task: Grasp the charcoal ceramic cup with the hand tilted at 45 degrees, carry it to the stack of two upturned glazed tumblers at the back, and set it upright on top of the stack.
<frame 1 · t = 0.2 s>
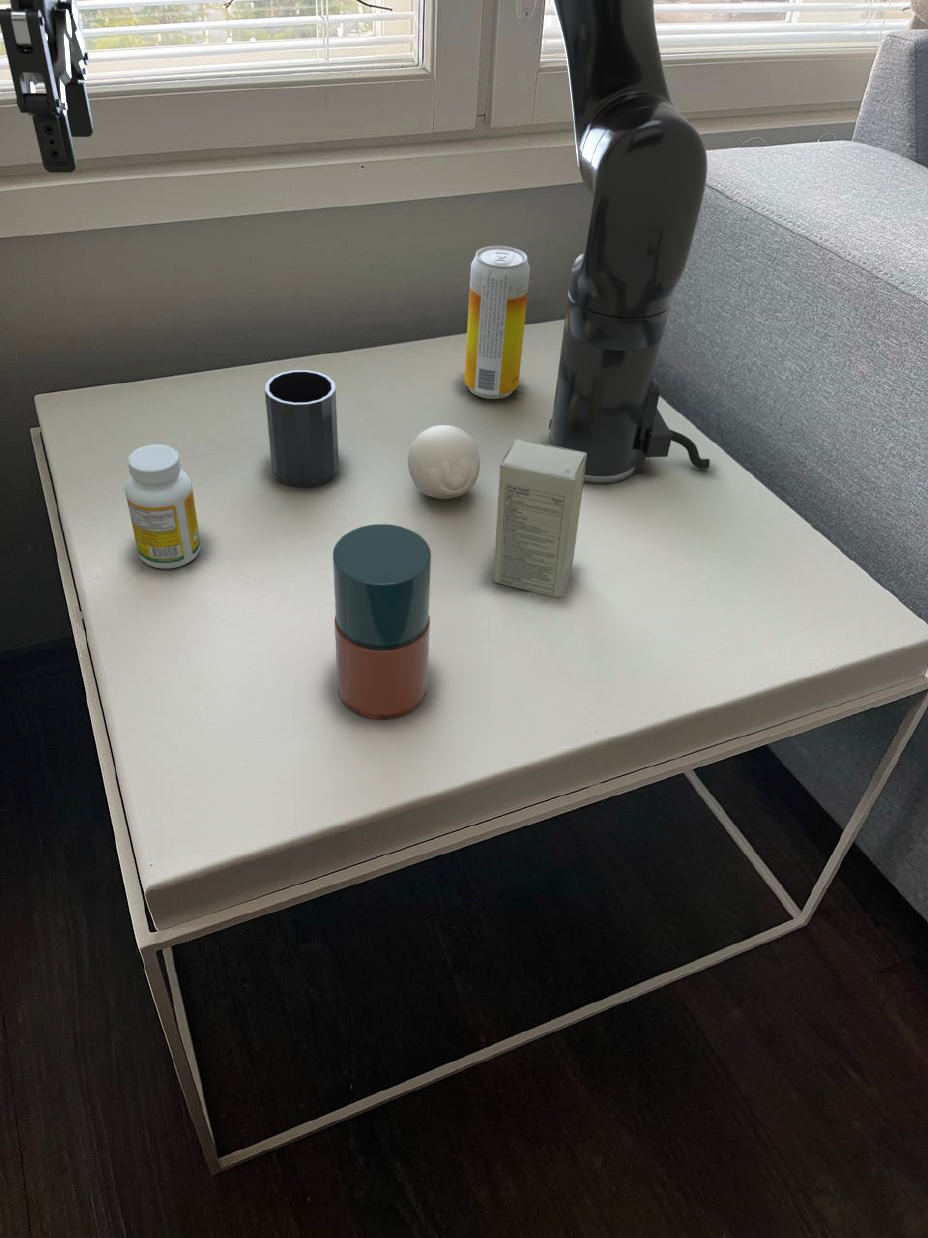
hand: (71, 152, 73), 29 cm above the table, tool pointing down, fingers open, 8 cm apart
cup: (305, 469, 95), on the table
supplement bottle: (170, 552, 85), on the table
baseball: (443, 494, 94), on the table
beer can: (490, 389, 109), on the table
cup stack: (382, 686, 74), on the table
cosmetic box: (530, 577, 85), on the table
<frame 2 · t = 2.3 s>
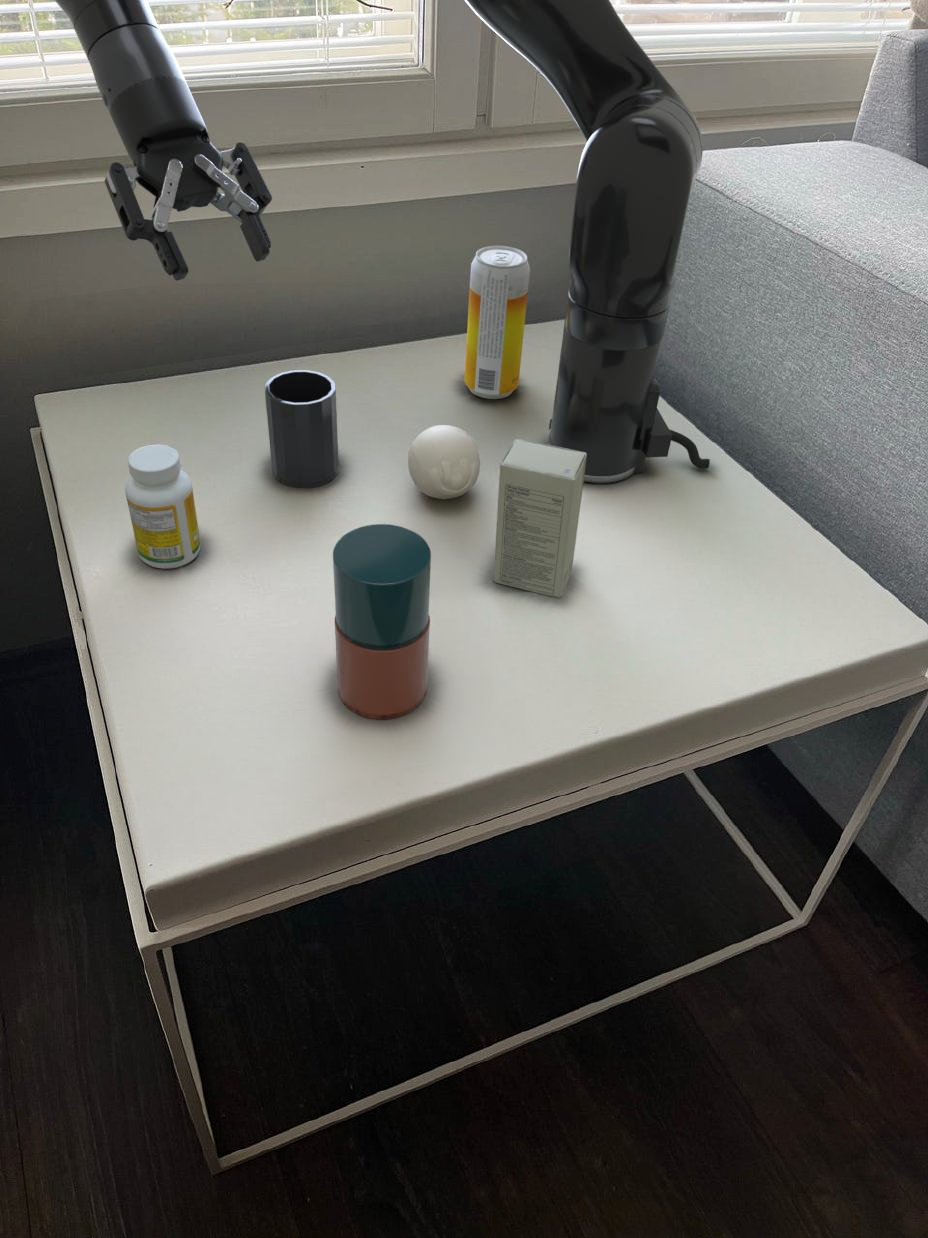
hand: (224, 266, 90), 16 cm above the table, tool tilted 45°, fingers open, 8 cm apart
nothing on the table moved.
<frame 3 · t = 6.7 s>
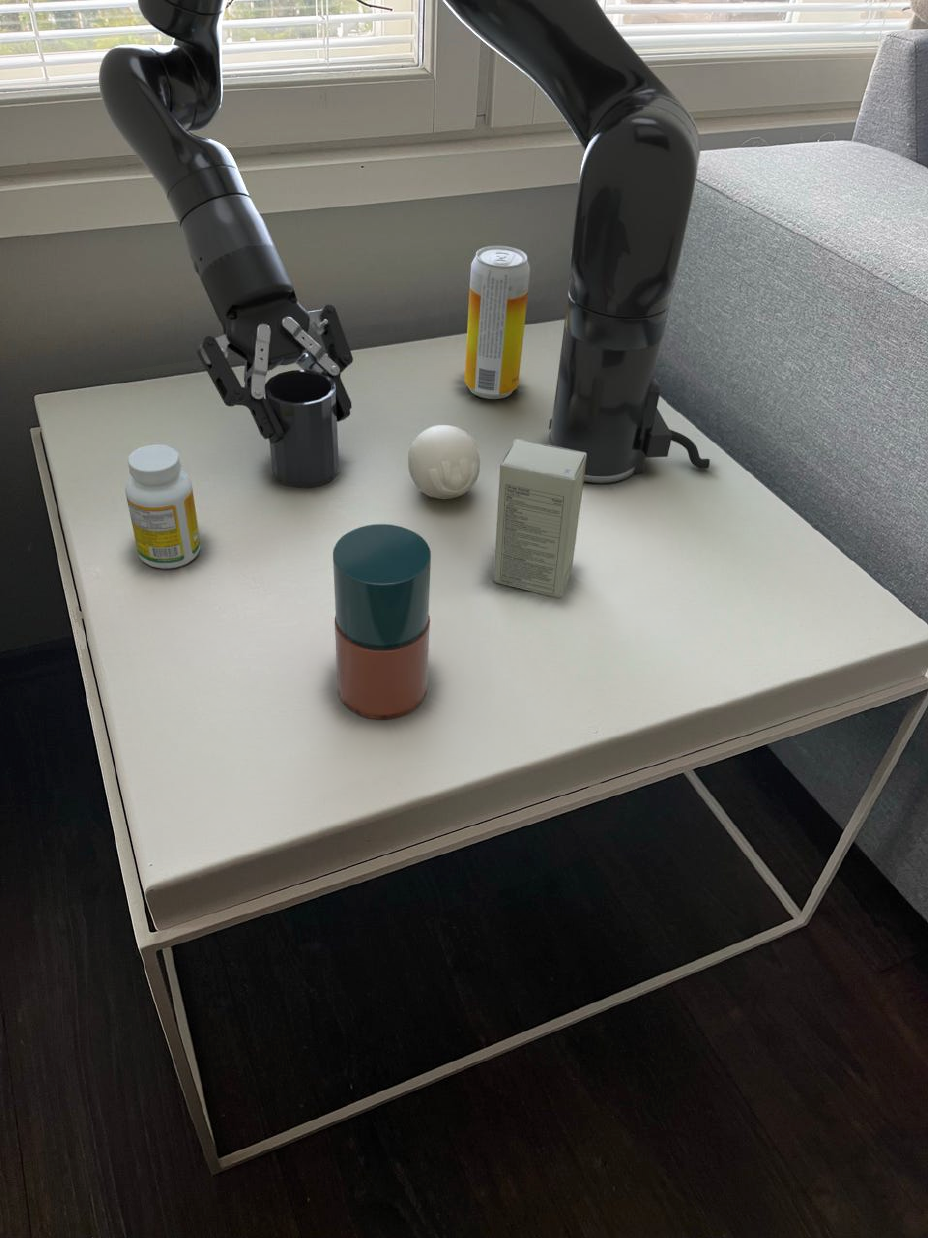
hand: (311, 428, 91), 5 cm above the table, tool tilted 45°, fingers closed on cup, 6 cm apart
cup: (305, 469, 95), on the table, touching gripper
everything else where it was.
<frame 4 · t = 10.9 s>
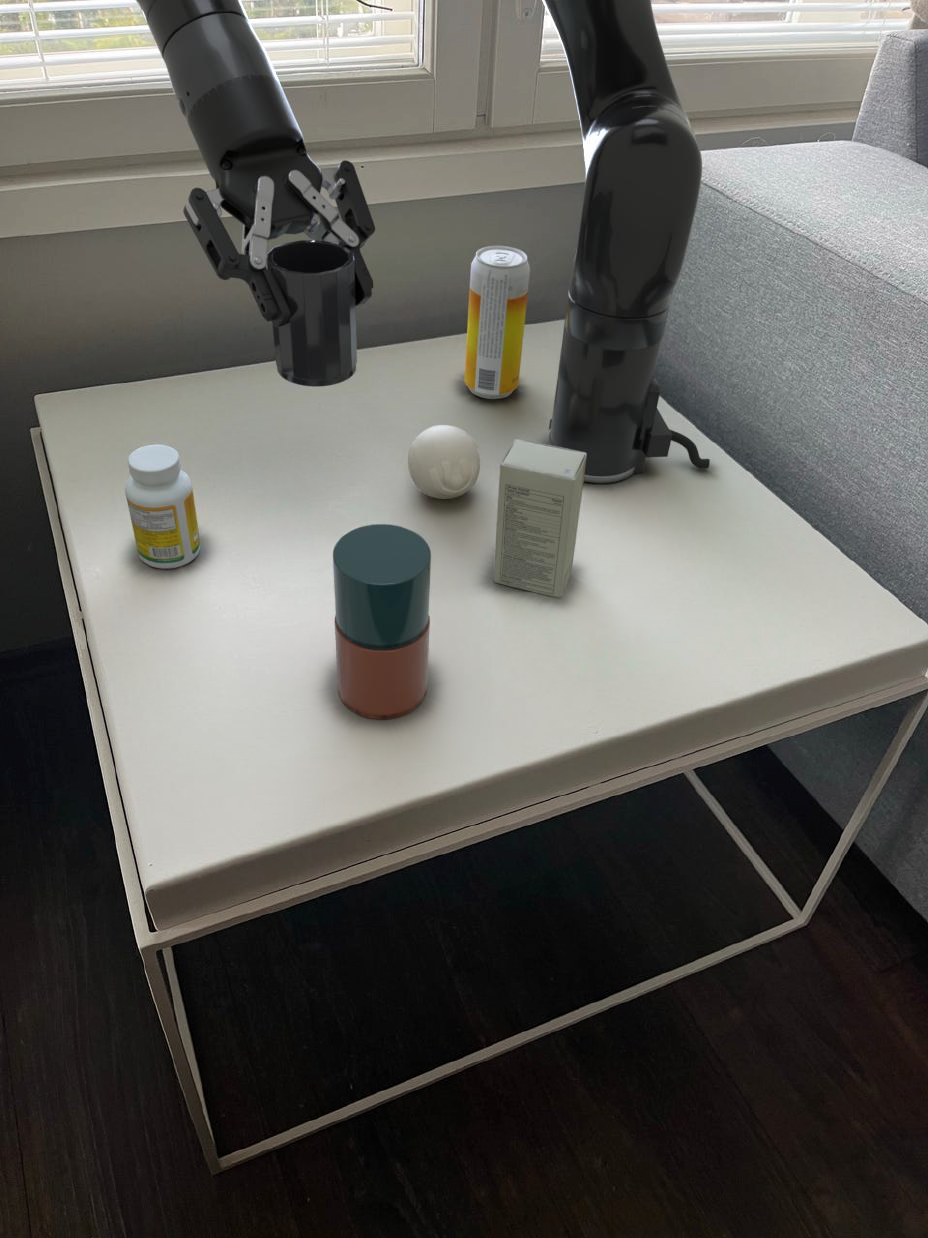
hand: (324, 310, 74), 21 cm above the table, tool tilted 45°, fingers closed on cup, 6 cm apart
cup: (317, 366, 78), point 16 cm above the table, touching gripper
everything else where it was.
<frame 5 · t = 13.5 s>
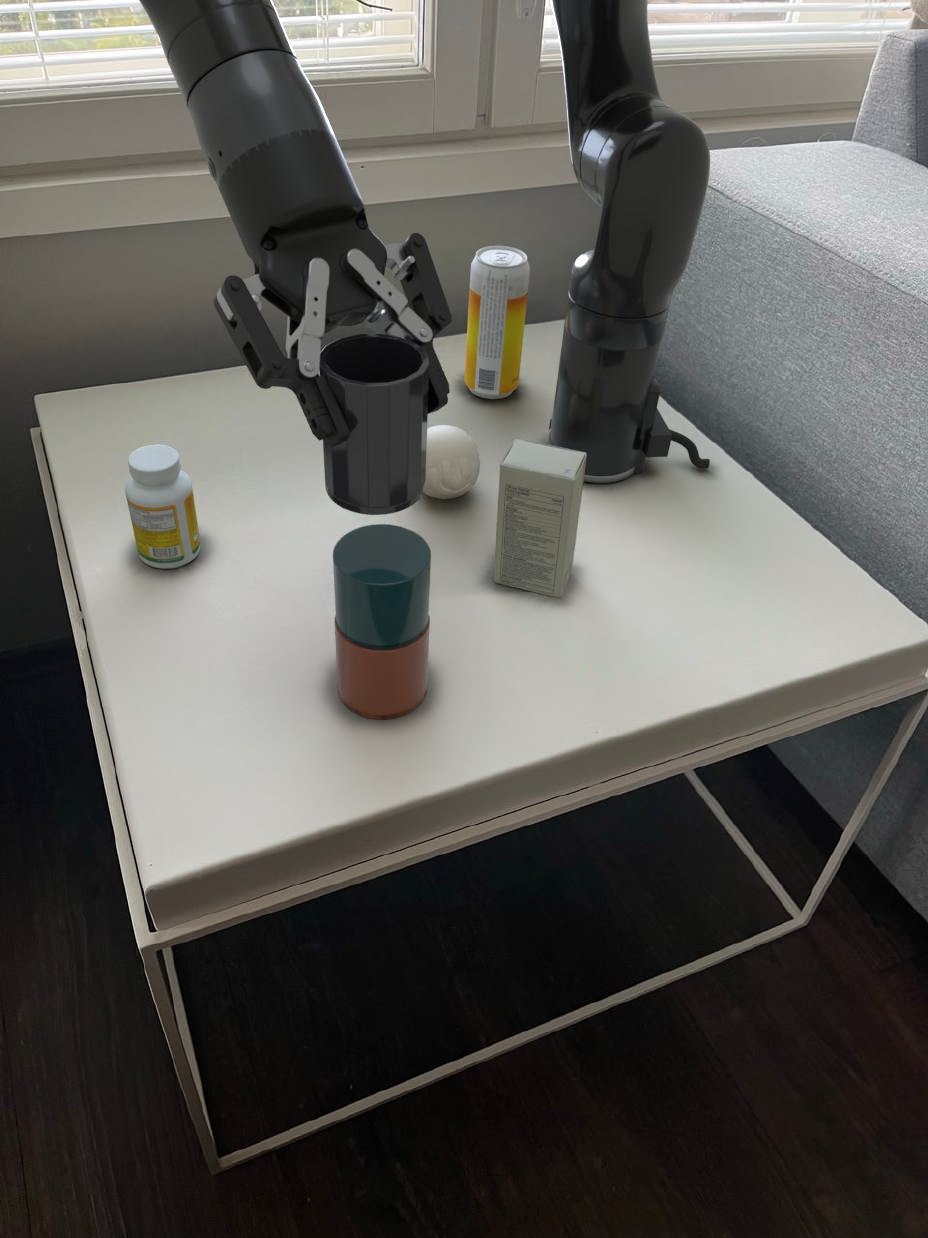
hand: (390, 424, 58), 23 cm above the table, tool tilted 45°, fingers closed on cup, 6 cm apart
cup: (375, 485, 63), point 18 cm above the table, touching gripper
everything else where it was.
when the fingers open (18 cm above the table, at t = 15.6 s): cup stays where it is, resting on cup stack.
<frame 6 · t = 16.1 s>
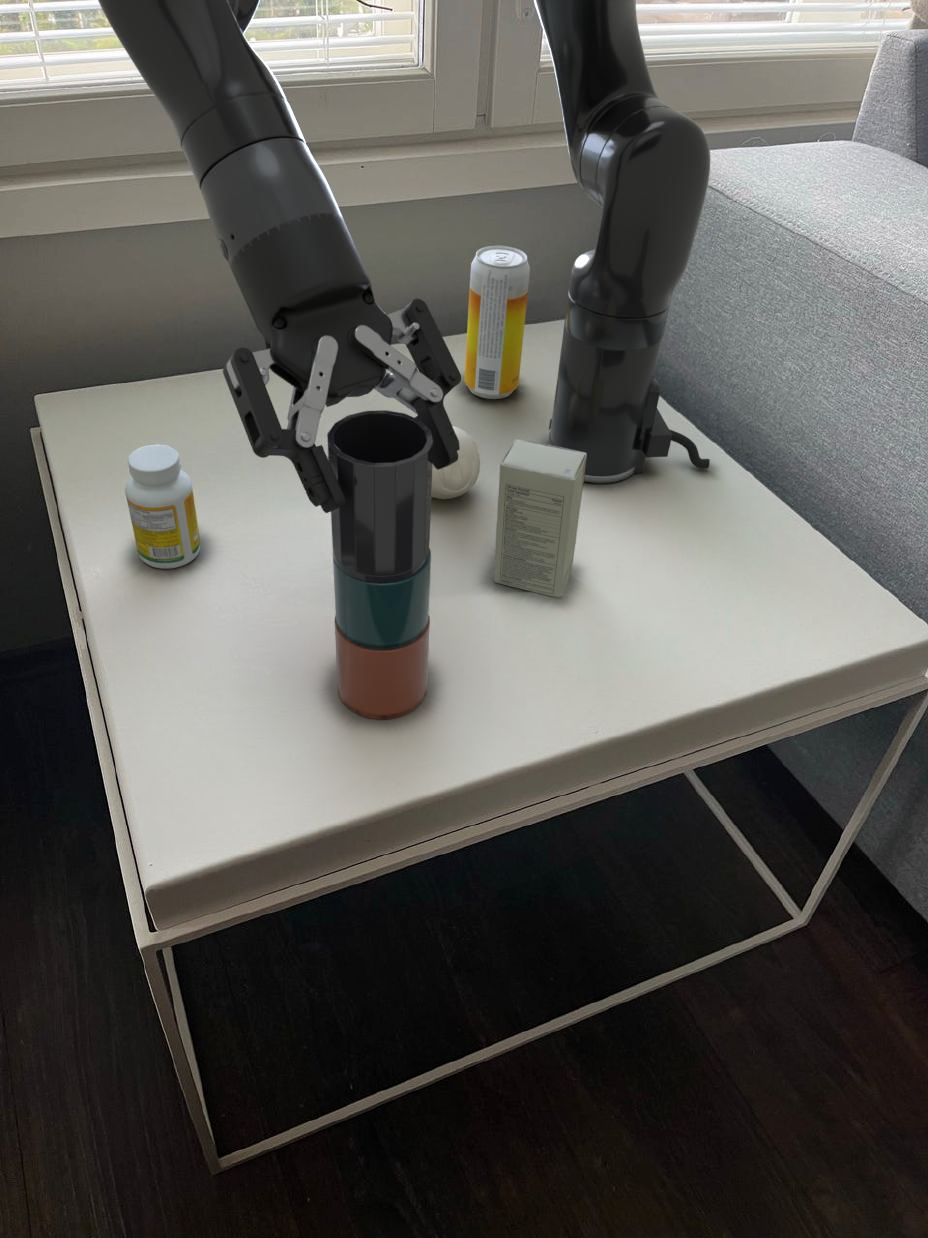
hand: (394, 486, 61), 19 cm above the table, tool tilted 45°, fingers open, 8 cm apart
cup: (380, 552, 65), point 13 cm above the table, touching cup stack
everything else where it was.
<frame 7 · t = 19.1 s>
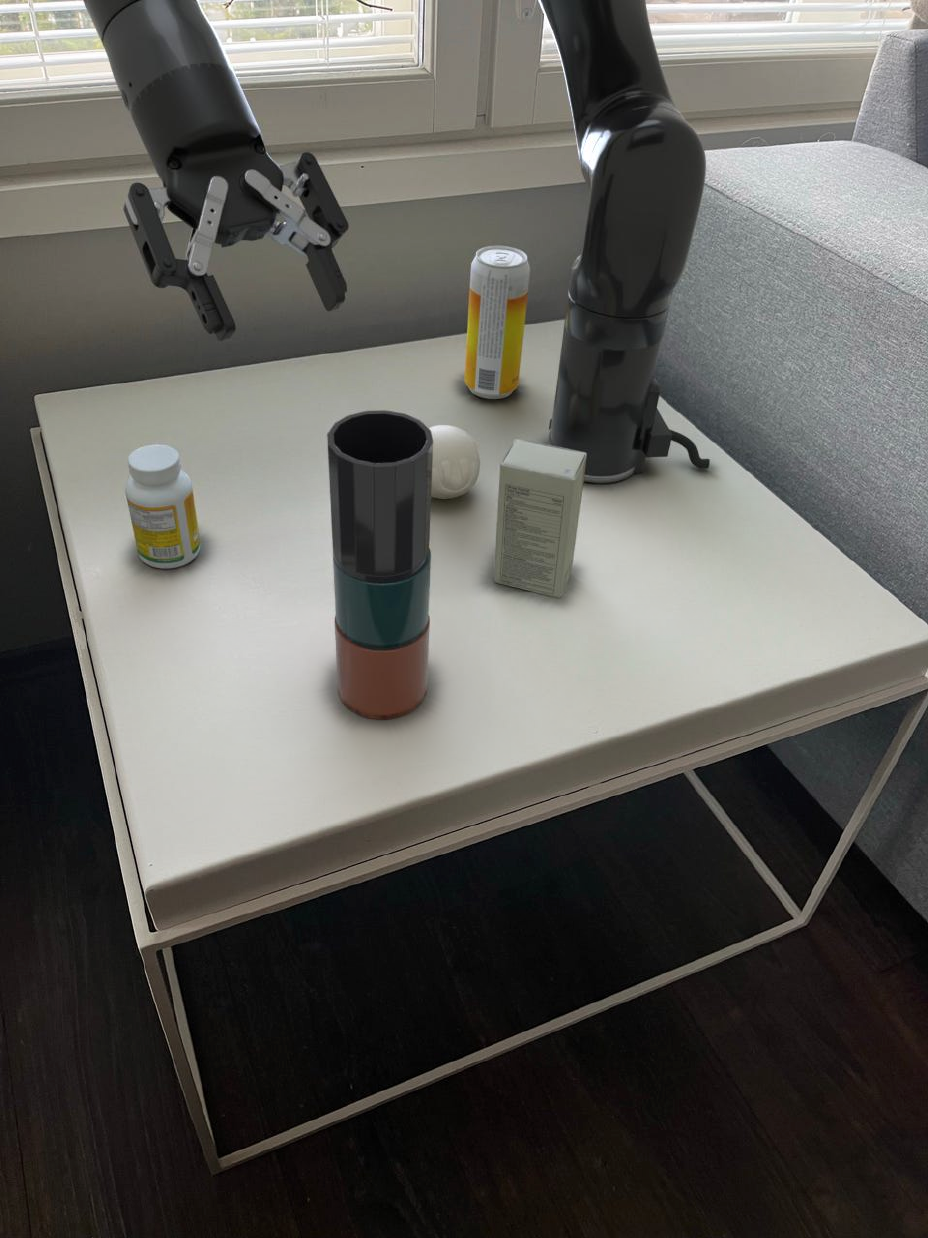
hand: (284, 320, 66), 24 cm above the table, tool tilted 45°, fingers open, 8 cm apart
nothing on the table moved.
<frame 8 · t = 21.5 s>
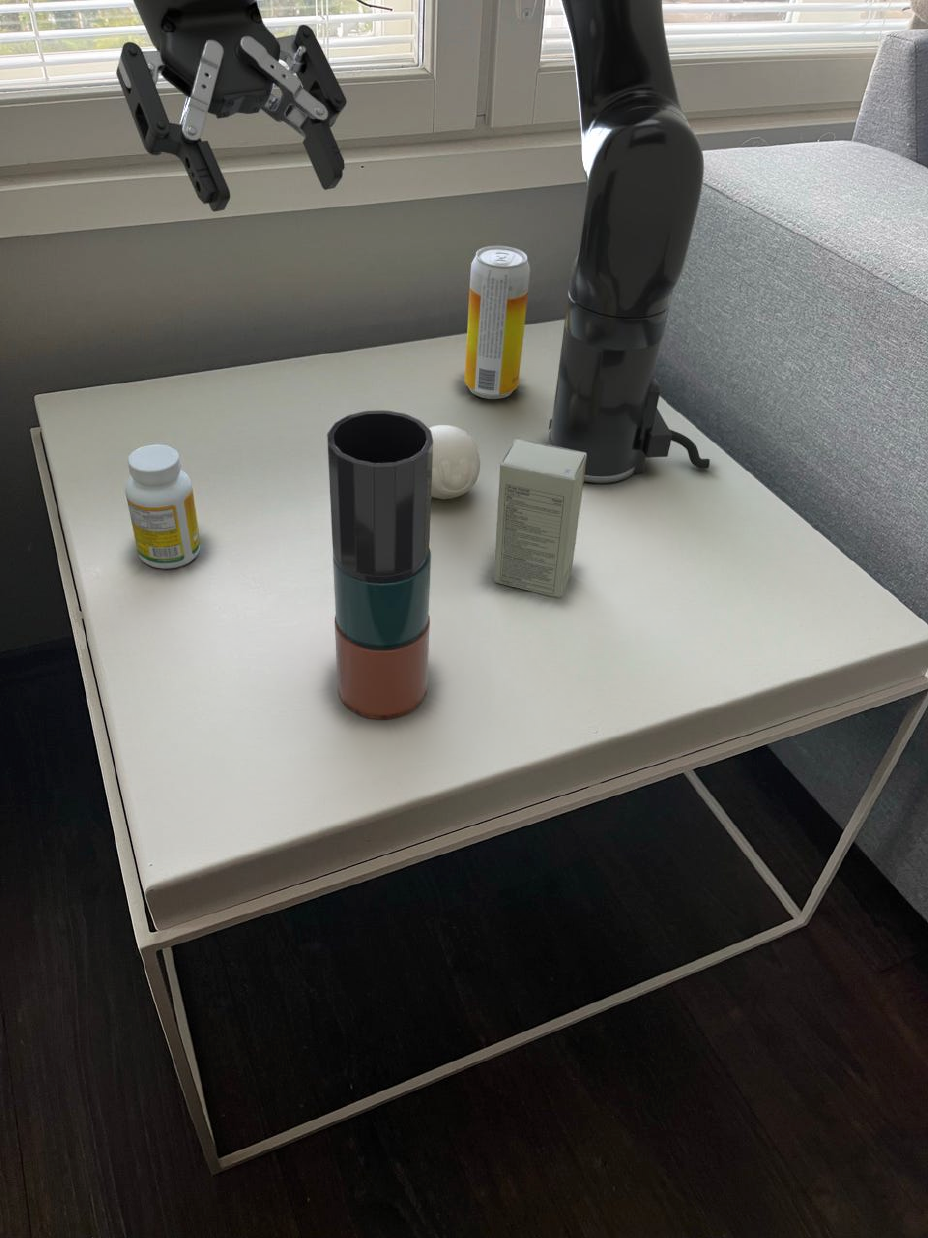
hand: (280, 193, 65), 31 cm above the table, tool tilted 45°, fingers open, 8 cm apart
nothing on the table moved.
at the end: cup 0.1 cm off-centre on the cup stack, point 13.0 cm above the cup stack's base; cup tilted 0°; the gripper is holding nothing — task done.
